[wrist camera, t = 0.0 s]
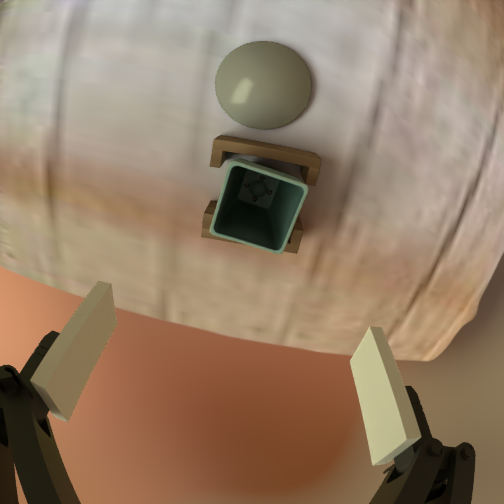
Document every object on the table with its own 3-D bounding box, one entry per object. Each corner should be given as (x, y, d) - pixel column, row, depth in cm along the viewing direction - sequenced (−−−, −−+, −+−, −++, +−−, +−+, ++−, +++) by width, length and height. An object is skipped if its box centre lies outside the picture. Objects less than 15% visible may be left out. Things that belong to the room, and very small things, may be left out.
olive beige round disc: (224, 37, 29) (223, 35, 28) (317, 53, 29) (318, 52, 29) (209, 121, 34) (208, 121, 34) (300, 137, 35) (301, 137, 34)
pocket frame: (220, 135, 35) (213, 139, 31) (314, 153, 36) (321, 159, 32) (208, 222, 41) (201, 236, 37) (293, 237, 42) (297, 253, 38)
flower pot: (300, 168, 37) (310, 186, 29) (278, 225, 41) (281, 256, 33) (237, 147, 36) (230, 159, 28) (219, 207, 40) (208, 233, 32)
